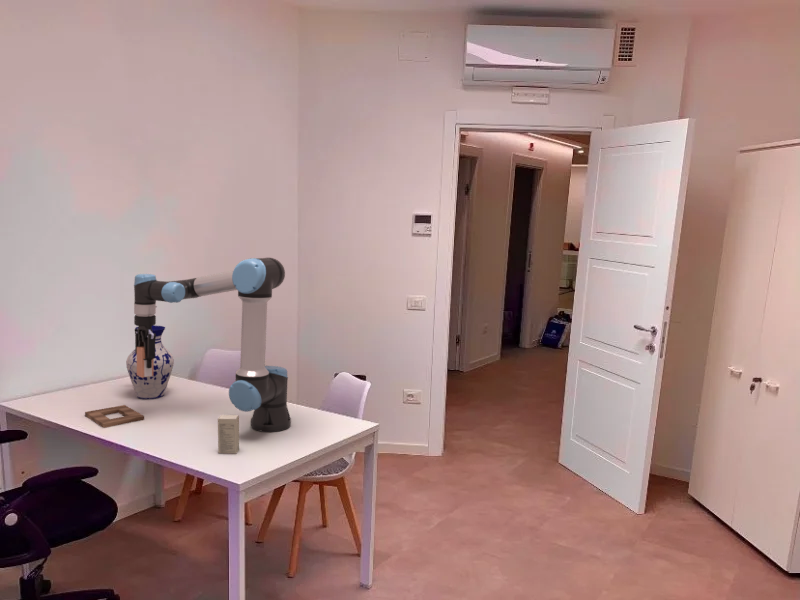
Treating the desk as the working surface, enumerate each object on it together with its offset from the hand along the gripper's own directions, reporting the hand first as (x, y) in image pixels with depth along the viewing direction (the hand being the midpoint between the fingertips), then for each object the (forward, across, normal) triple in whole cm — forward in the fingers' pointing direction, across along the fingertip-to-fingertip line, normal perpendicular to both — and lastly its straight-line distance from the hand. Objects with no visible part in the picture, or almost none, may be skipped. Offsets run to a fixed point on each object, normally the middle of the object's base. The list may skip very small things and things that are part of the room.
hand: (145, 374), depth 231 cm
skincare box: (+17, -51, -6) cm, 54 cm away
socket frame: (+17, +6, +9) cm, 20 cm away
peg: (0, 0, 0) cm, 0 cm away
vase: (+17, +26, -14) cm, 34 cm away
